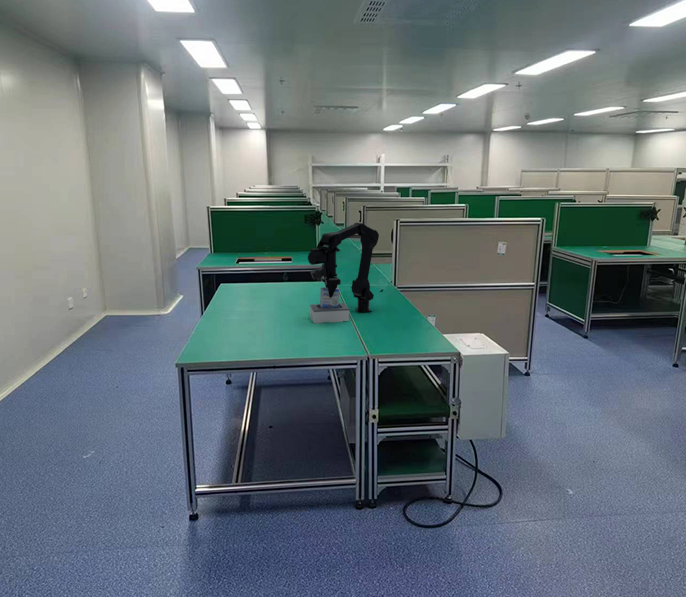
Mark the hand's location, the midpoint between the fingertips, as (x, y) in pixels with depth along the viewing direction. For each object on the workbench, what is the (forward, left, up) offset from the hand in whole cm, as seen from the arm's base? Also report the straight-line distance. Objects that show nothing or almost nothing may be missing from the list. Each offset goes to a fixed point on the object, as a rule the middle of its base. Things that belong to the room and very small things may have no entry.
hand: (329, 296), depth 217 cm
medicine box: (0, 0, -5) cm, 5 cm away
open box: (0, 0, -11) cm, 11 cm away
